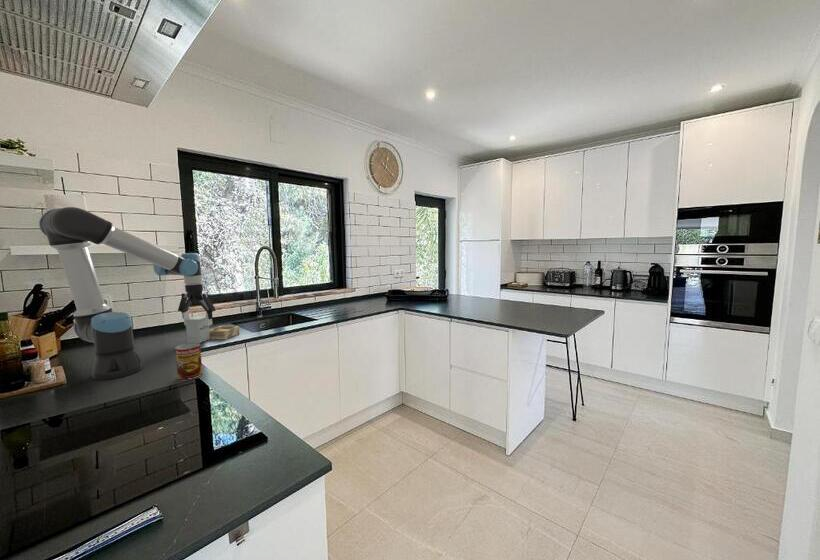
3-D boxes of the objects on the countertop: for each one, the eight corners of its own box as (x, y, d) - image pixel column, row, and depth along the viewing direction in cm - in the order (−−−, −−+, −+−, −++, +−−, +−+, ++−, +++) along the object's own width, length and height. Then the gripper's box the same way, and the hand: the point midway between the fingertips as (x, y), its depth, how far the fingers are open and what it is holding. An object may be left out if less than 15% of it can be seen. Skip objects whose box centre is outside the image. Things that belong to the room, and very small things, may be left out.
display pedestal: (224, 340, 177) (224, 331, 177) (206, 339, 180) (206, 330, 179) (239, 334, 188) (238, 326, 188) (222, 333, 190) (221, 325, 190)
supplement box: (200, 344, 171) (197, 319, 170) (187, 343, 172) (184, 319, 171) (210, 339, 178) (208, 316, 177) (198, 339, 180) (195, 315, 178)
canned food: (178, 382, 125) (174, 350, 123) (178, 375, 131) (175, 345, 130) (203, 377, 129) (200, 346, 128) (202, 370, 136) (199, 341, 134)
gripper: (220, 282, 173) (224, 323, 176) (179, 282, 178) (184, 322, 181) (209, 285, 166) (213, 327, 169) (166, 284, 171) (171, 326, 174)
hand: (198, 324), depth 175 cm, fingers open, 13 cm apart
